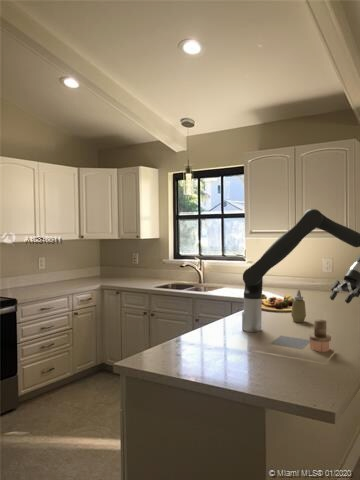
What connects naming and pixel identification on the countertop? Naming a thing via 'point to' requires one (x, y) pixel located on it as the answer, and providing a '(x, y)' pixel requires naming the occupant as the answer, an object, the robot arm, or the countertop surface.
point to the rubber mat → (290, 342)
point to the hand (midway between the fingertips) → (338, 300)
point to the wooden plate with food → (277, 304)
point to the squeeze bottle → (298, 308)
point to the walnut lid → (320, 331)
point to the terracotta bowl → (320, 345)
